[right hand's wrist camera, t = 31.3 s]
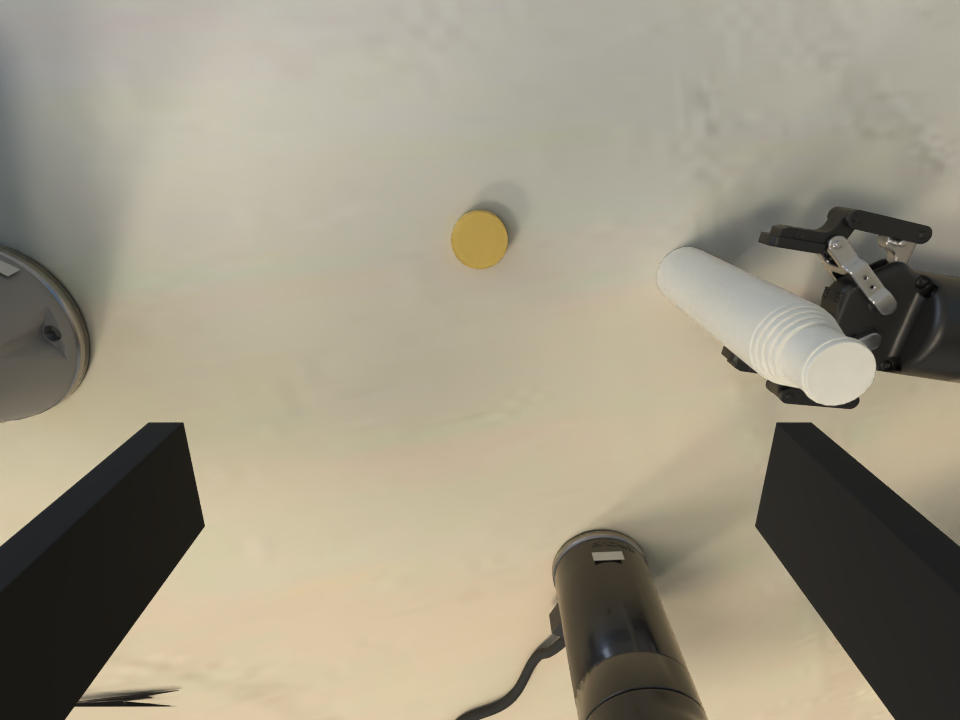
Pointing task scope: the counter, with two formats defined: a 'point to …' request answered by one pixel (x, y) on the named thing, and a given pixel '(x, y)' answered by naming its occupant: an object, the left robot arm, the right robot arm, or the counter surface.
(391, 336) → the counter surface
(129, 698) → the feather
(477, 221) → the cap
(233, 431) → the counter surface
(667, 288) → the bottle
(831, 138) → the counter surface
